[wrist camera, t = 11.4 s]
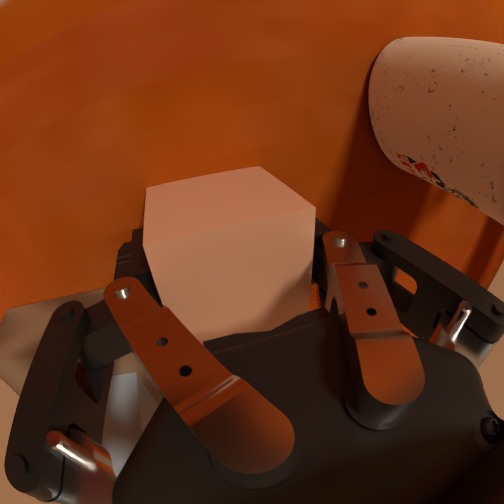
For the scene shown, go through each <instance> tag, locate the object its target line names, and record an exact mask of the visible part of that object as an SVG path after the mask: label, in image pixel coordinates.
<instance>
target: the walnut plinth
mask: <svg viewBox="0 0 504 504" xmlns="http://www.w3.org/2000/svg"><path fill="white" fill-rule="evenodd" d="M104 290H105V288H102V289H98V290H93V291H88V292H84V293H79V294H75V295H70V296H66V297H61V298H57V299H52V300H48V301H43V302H38V303H34V304H29V305H25V306H20V307H15V308H11V309H7V310H6V312H5V314H4V317H3V319H2V321H1V324H0V377H1V378H2V379H3V380H4V381H5V382H6V383H7V384H8V385H9V386H10V387H11V388H12V389H13V390H14V391H15V392H16V393H17V394H18V395H19V396H20V395H21V391H22V388H23V385H24V382H25V379H26V376H27V374H28V371H29V368H30V365H31V363H32V360H33V357H34V355H35V352H36V350H37V347H38V345H39V343H40V340H41V338H42V336H43V333H44V331H45V329H46V327H47V324H48V322H49V320H50V318H51V316H52V314H53V312H54V311H55V310H56V309H57V308H58V307H59V306H60V305H62V304H63V303H65V302H68V301H73V300H76V301H79V302H81V303H82V304H83V306H84V308H88V307H90V306H92V305H94V304H96V303H98V302H100V301H102V300H103V299H104V297H103V293H104ZM77 363H78V361H77ZM76 366H77V364H76ZM75 370H76V368H75ZM134 372H137V374H138V375H139V377H140V379H141V380H142V382H143V383H144V385H145V386H146V387H147V389H148V390H149V392H150V393H151V395H152V396H153V398H154V399H155V400H156V402H157V403H158V405H159V404H160V402H161V400H162V397H161V396H160V394H159V393H158V391H157V390H156V388H155V387H154V385H153V384H152V382H151V381H150V379H149V378H148V376H147V375H146V373H145V372H144V370H143V369H142V367H141V366H140V364H139V363H138V361H137V359H136V358H135V356H134V354H133V353H132V352H131V353H129V354H127V355H125V356H123V357H121V358H119V359H117V360H114V368H113V373H112V376H115V375H122V374H128V373H134Z"/></svg>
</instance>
